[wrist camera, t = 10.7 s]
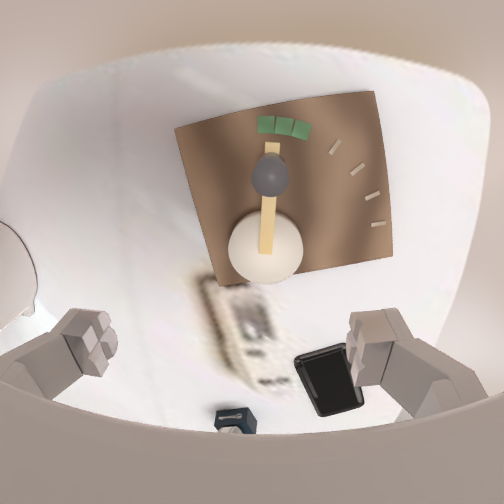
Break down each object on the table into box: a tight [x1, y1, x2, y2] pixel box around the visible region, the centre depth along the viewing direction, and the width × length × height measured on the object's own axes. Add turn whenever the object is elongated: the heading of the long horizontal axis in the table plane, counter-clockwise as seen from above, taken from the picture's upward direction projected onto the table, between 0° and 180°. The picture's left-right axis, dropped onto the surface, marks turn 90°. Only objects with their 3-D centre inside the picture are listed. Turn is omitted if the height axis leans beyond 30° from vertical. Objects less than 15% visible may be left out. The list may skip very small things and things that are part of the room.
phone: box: [294, 343, 364, 417], centre depth 40 cm, size 8×1×15 cm
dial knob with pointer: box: [228, 142, 303, 284], centre depth 25 cm, size 14×7×8 cm, turn 177°
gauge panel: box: [174, 91, 393, 286], centre depth 28 cm, size 19×17×2 cm
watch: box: [214, 408, 257, 434], centre depth 40 cm, size 6×8×11 cm
